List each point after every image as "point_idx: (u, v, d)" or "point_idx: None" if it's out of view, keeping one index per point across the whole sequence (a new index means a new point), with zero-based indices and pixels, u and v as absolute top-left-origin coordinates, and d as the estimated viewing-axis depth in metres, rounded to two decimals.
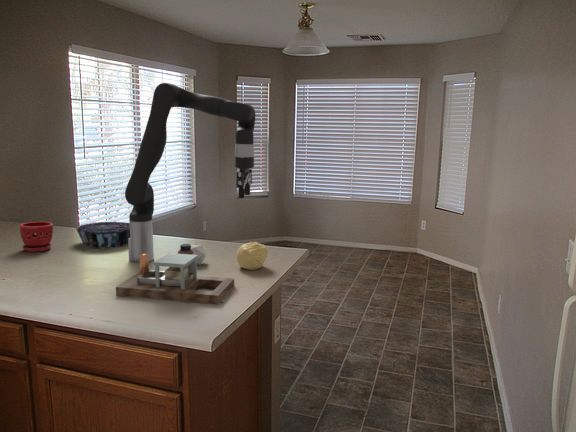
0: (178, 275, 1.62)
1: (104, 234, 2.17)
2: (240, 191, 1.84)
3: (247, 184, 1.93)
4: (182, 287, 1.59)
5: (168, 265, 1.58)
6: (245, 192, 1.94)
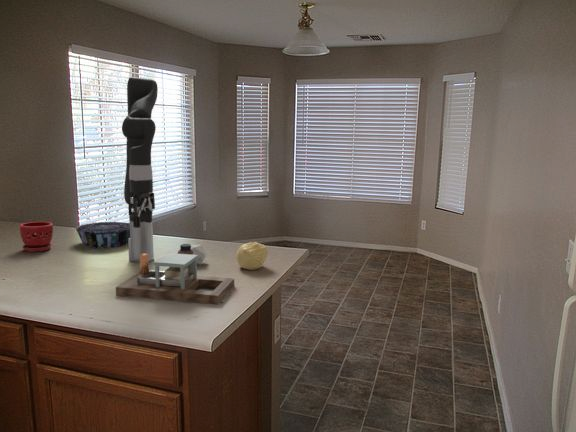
0: (178, 275, 1.62)
1: (104, 234, 2.16)
2: (134, 220, 1.58)
3: (148, 210, 1.67)
4: (182, 287, 1.59)
5: (168, 265, 1.58)
6: (146, 219, 1.68)
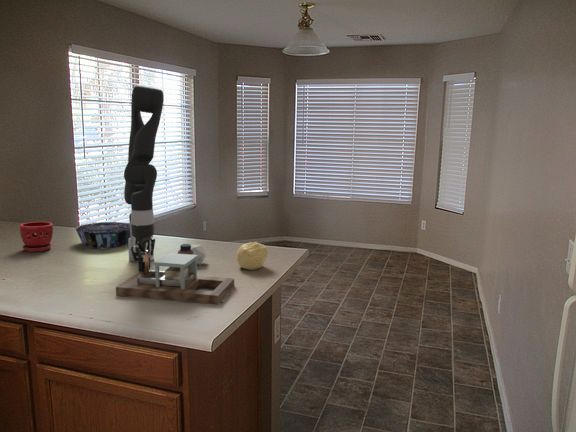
0: (178, 275, 1.62)
1: (103, 234, 2.16)
2: (140, 265, 1.64)
3: None
4: (182, 287, 1.59)
5: (168, 265, 1.58)
6: None
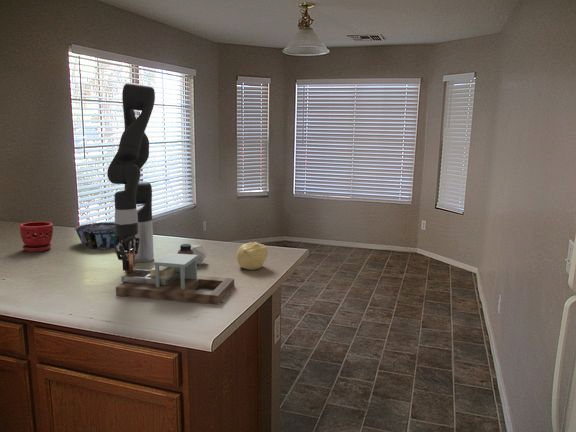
0: (163, 274, 1.62)
1: (103, 234, 2.16)
2: (124, 263, 1.65)
3: None
4: (182, 287, 1.59)
5: (168, 265, 1.58)
6: None
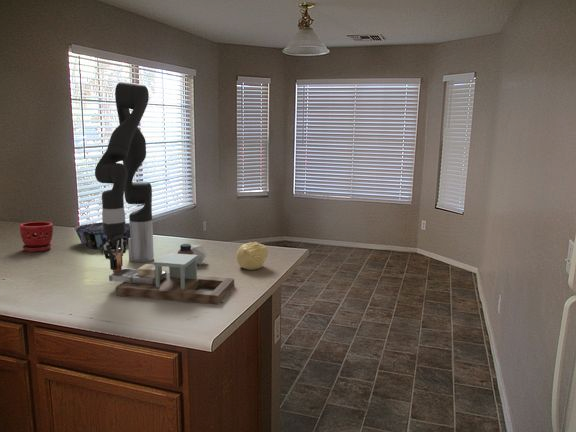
0: (151, 273, 1.63)
1: (102, 235, 2.15)
2: (111, 262, 1.66)
3: None
4: (182, 287, 1.59)
5: (168, 265, 1.58)
6: None
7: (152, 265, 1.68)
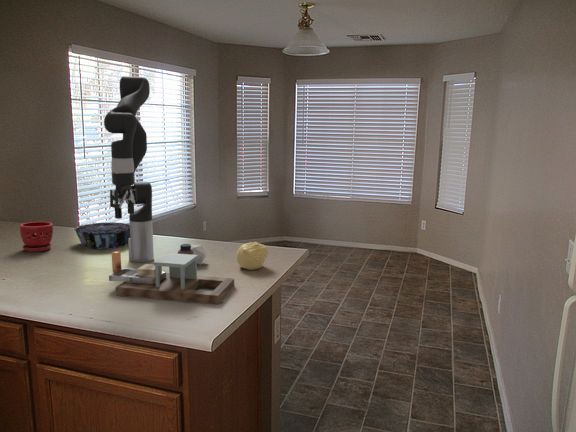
0: (150, 273, 1.63)
1: (102, 235, 2.15)
2: (116, 211, 1.64)
3: (130, 202, 1.73)
4: (182, 287, 1.59)
5: (168, 265, 1.58)
6: (128, 211, 1.74)
7: (152, 265, 1.68)
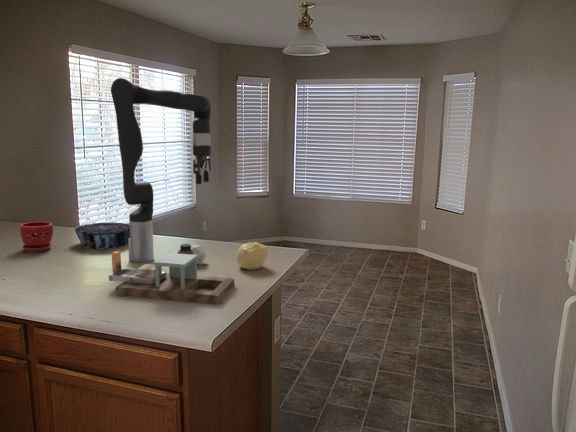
0: (150, 273, 1.63)
1: (101, 235, 2.15)
2: (197, 177, 1.97)
3: (206, 171, 2.05)
4: (182, 287, 1.59)
5: (168, 265, 1.58)
6: (204, 179, 2.06)
7: (152, 265, 1.68)
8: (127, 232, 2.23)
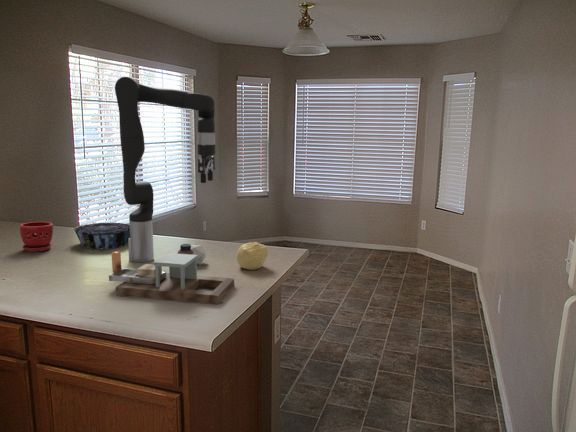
0: (150, 273, 1.63)
1: (101, 235, 2.14)
2: (202, 176, 1.99)
3: (210, 170, 2.07)
4: (182, 287, 1.59)
5: (168, 265, 1.58)
6: (208, 178, 2.08)
7: (152, 265, 1.68)
8: (127, 232, 2.23)
